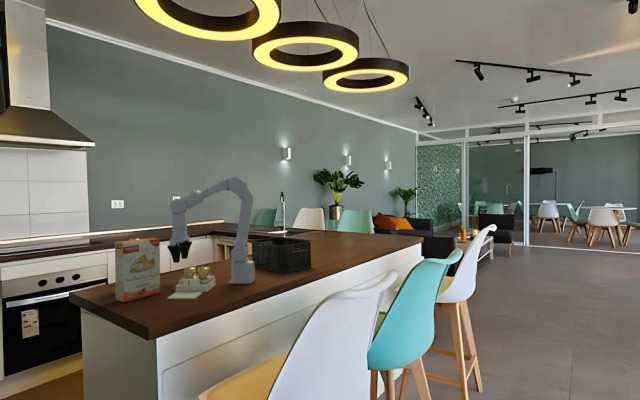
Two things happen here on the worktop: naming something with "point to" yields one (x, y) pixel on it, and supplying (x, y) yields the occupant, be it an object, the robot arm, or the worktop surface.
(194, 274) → the cylinder
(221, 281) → the worktop surface
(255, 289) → the worktop surface
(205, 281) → the scale pan
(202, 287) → the scale
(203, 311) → the worktop surface
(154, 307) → the worktop surface
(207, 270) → the brass weight
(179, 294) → the rubber mat
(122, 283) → the cracker box
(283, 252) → the storage bin
